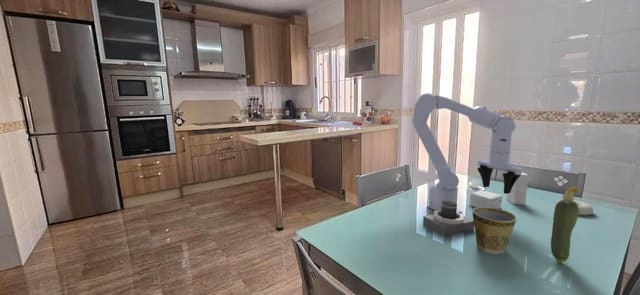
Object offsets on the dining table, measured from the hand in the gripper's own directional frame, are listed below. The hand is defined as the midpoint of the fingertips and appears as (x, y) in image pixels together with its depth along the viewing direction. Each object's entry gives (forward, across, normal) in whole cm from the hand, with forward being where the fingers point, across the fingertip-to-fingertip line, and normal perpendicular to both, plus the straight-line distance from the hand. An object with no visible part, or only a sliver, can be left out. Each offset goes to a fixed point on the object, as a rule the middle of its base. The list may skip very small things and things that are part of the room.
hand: (496, 189), depth 95 cm
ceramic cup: (+10, -14, +20) cm, 26 cm away
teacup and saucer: (+10, +25, -24) cm, 36 cm away
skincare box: (+10, +6, -20) cm, 23 cm away
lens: (+6, -1, +22) cm, 23 cm away
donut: (+10, -8, -30) cm, 33 cm away
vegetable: (+10, -26, +11) cm, 30 cm away
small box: (+10, +7, -5) cm, 13 cm away
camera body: (+9, -1, +22) cm, 24 cm away
